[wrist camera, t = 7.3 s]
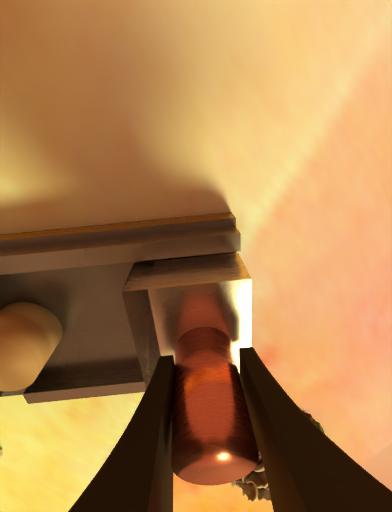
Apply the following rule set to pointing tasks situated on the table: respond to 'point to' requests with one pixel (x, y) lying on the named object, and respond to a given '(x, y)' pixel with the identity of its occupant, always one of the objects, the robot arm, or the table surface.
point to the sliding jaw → (198, 358)
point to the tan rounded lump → (25, 343)
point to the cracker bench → (97, 294)
